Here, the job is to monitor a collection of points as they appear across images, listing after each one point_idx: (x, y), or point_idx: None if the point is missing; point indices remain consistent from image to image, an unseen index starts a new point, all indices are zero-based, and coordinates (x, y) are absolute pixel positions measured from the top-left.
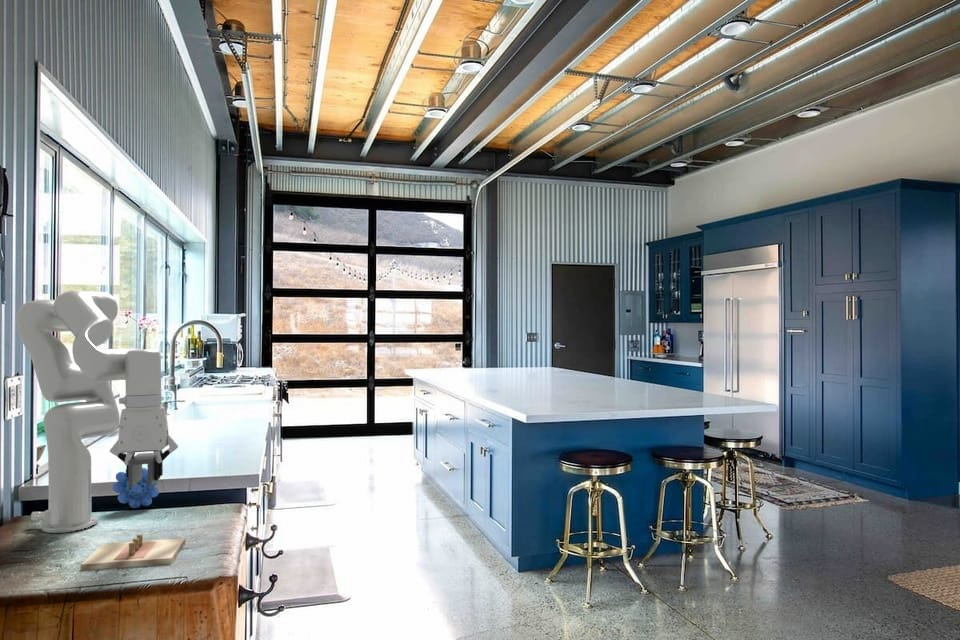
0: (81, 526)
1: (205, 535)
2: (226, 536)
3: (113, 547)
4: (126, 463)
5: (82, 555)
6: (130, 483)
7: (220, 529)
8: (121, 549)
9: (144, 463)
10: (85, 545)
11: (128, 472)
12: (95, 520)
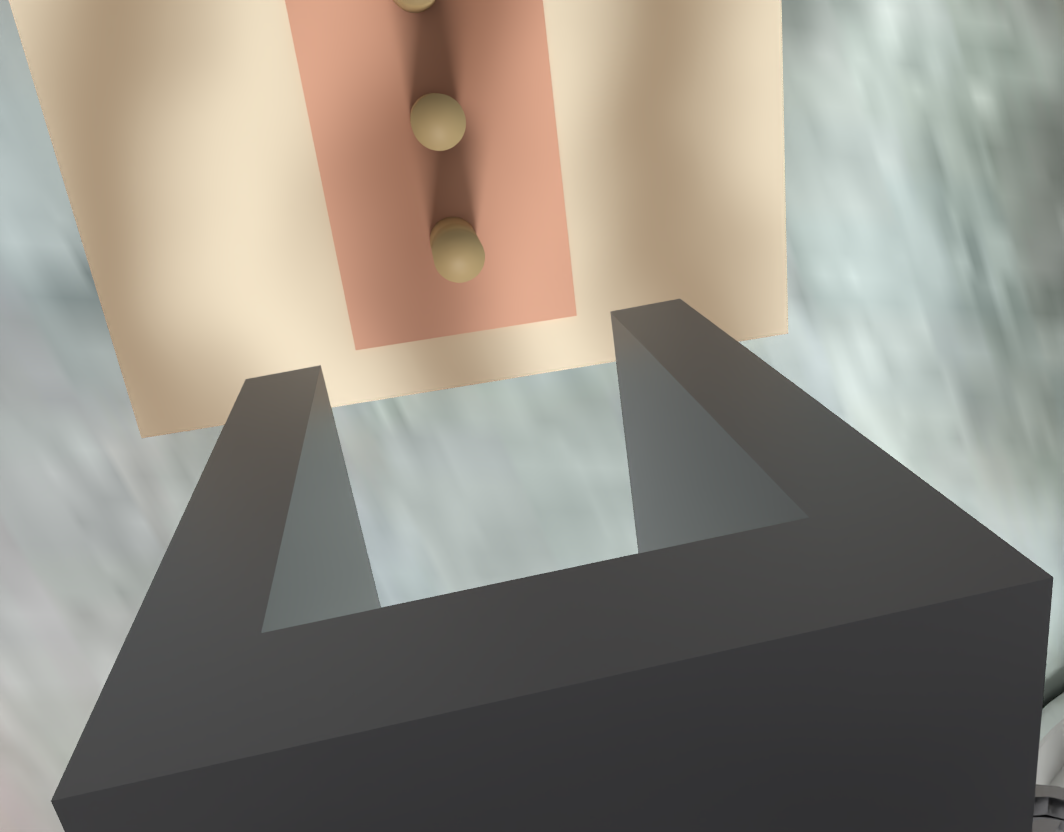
0: (1055, 723)
1: (79, 607)
2: None
3: (663, 222)
4: (1059, 819)
5: (867, 174)
6: (667, 326)
7: (28, 741)
8: (574, 160)
9: (371, 624)
10: (918, 407)
11: (810, 396)
12: None
